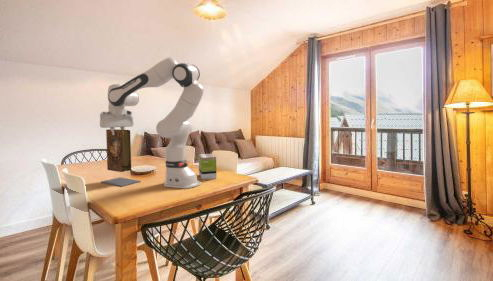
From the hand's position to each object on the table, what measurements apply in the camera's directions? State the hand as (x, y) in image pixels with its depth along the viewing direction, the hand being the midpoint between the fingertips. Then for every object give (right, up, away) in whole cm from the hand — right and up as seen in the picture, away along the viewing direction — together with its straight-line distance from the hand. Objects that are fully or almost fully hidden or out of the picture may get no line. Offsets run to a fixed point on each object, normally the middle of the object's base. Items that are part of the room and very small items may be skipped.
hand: (117, 134), depth 157 cm
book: (0, -22, +2) cm, 22 cm away
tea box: (+52, -28, +17) cm, 62 cm away
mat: (+1, -29, +2) cm, 29 cm away
